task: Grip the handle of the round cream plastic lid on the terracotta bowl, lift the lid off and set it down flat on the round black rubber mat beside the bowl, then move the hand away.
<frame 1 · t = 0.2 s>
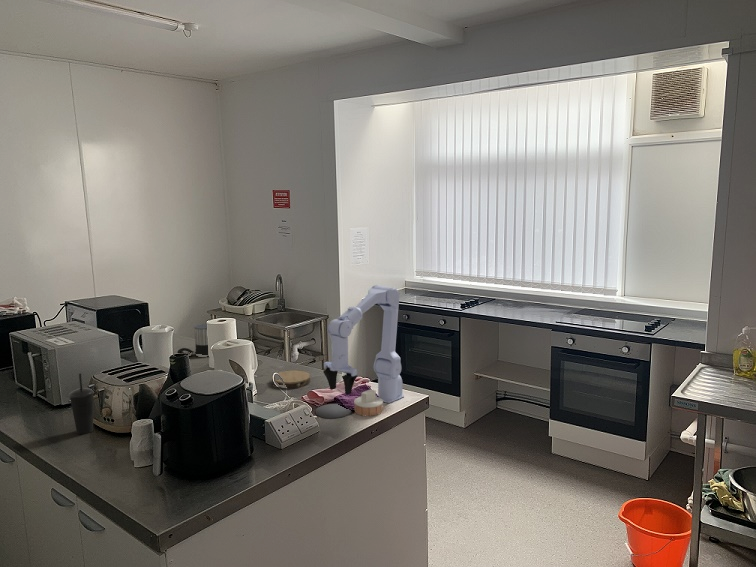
hand: (340, 391, 202), 10 cm above the worktop, tool pointing down, fingers open, 7 cm apart
milk frother: (196, 356, 282), on the worktop
spray can: (215, 429, 195), on the worktop
drinking cup: (85, 432, 194), on the worktop
mat: (333, 411, 210), on the worktop
mortar and pestle: (239, 402, 220), on the worktop
lid: (368, 402, 210), point 3 cm above the worktop, touching bowl
brown round disc: (291, 383, 243), on the worktop
bowl: (368, 410, 211), on the worktop
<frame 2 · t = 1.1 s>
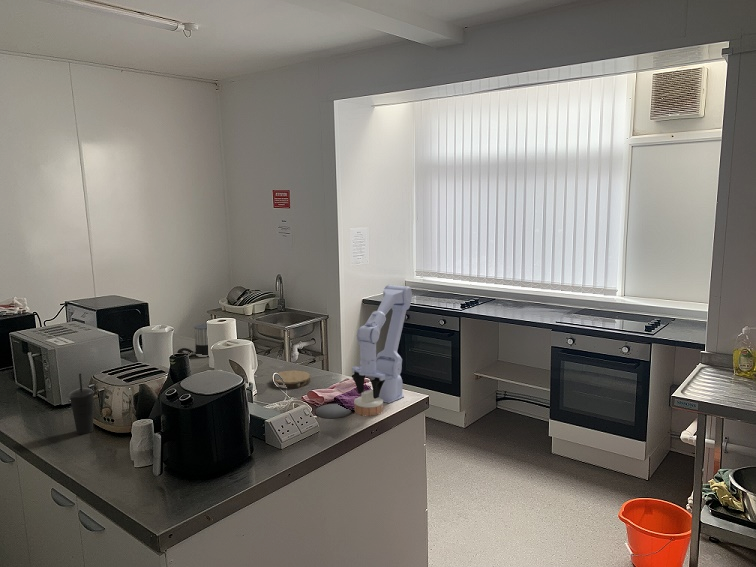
hand: (368, 395, 210), 6 cm above the worktop, tool pointing down, fingers open, 7 cm apart
nothing on the worktop moved.
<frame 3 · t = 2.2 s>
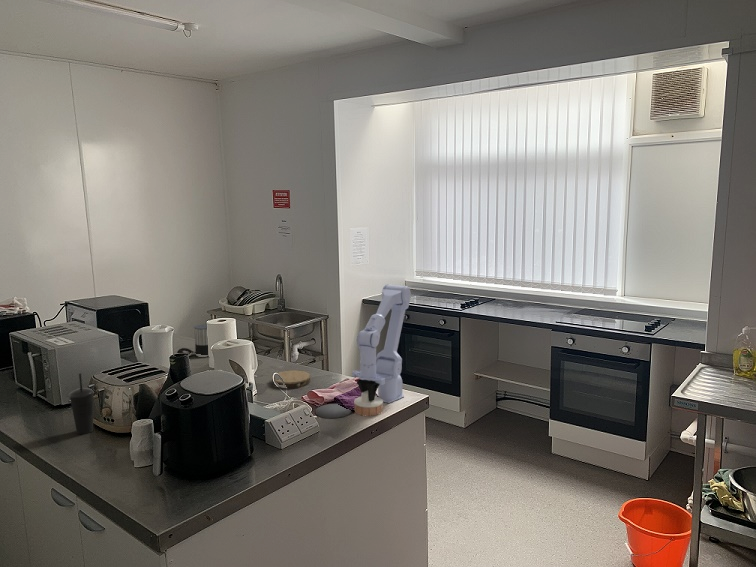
hand: (368, 399, 210), 4 cm above the worktop, tool pointing down, fingers closed on lid, 2 cm apart
lid: (368, 402, 210), point 3 cm above the worktop, touching bowl, gripper
everything else where it was.
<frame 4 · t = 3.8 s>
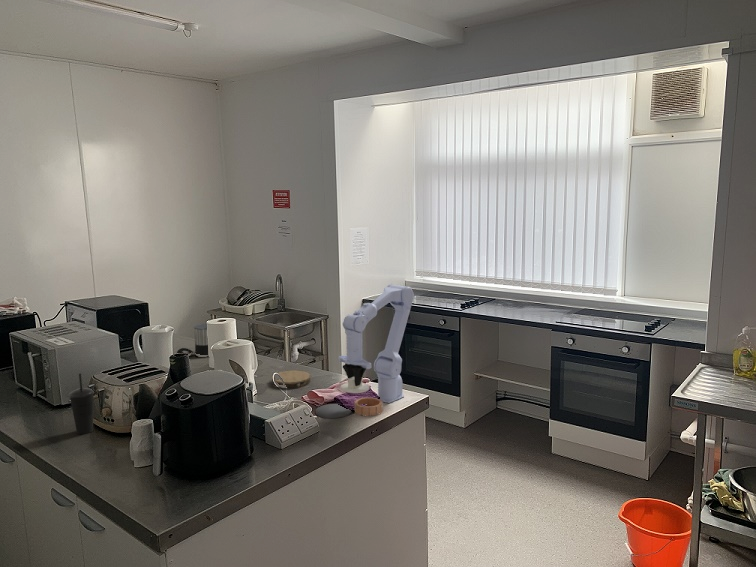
hand: (354, 384, 209), 10 cm above the worktop, tool pointing down, fingers closed on lid, 2 cm apart
lid: (355, 388, 209), point 9 cm above the worktop, touching gripper
everything else where it was.
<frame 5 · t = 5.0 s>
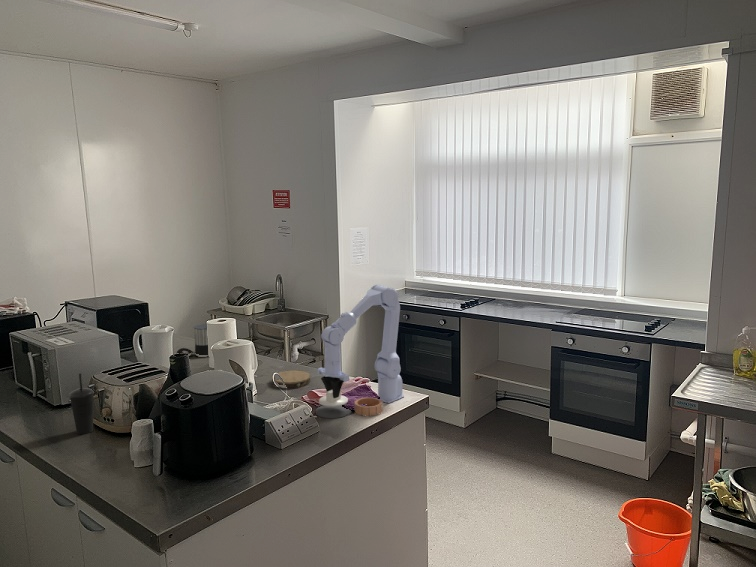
hand: (333, 396, 209), 6 cm above the worktop, tool pointing down, fingers closed on lid, 2 cm apart
lid: (333, 401, 209), point 4 cm above the worktop, touching gripper
everything else where it was.
when the fingers open (3 cm above the worktop, at t = 5.7 s): lid stays where it is, resting on mat.
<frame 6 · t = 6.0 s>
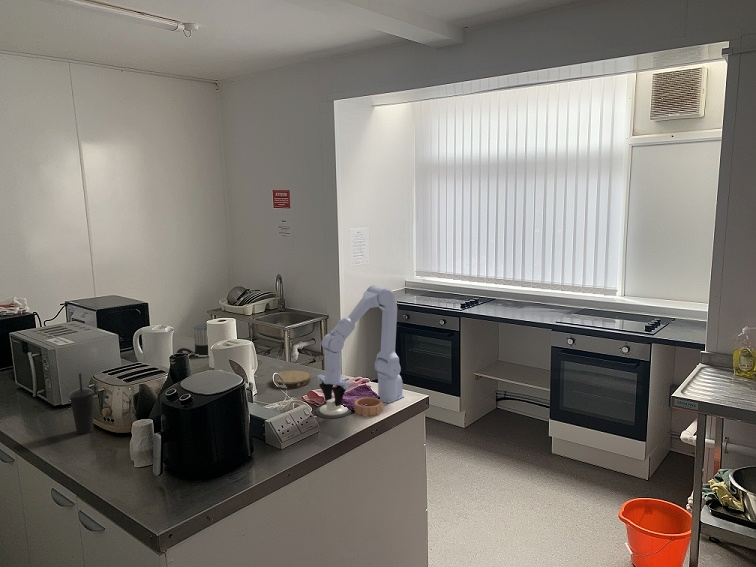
hand: (333, 403, 210), 3 cm above the worktop, tool pointing down, fingers open, 4 cm apart
lid: (333, 410, 210), resting on mat
everything else where it was.
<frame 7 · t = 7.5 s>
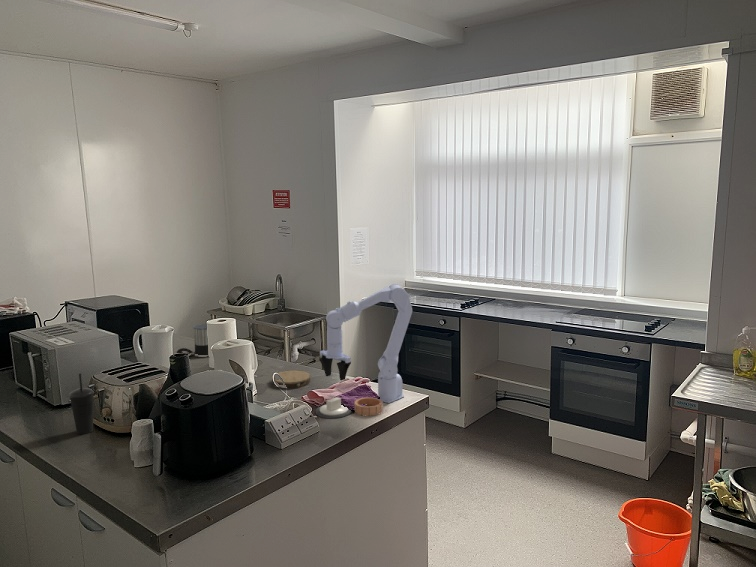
hand: (335, 377, 219), 9 cm above the worktop, tool pointing down, fingers open, 7 cm apart
nothing on the worktop moved.
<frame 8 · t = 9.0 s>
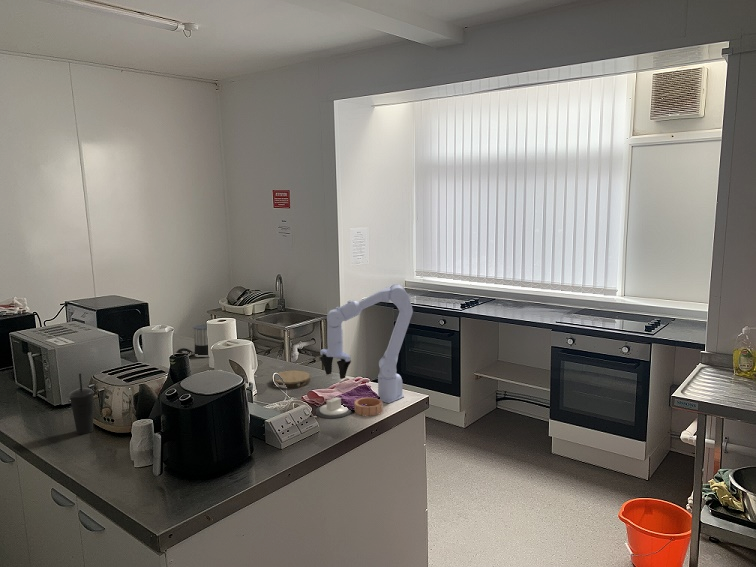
hand: (335, 376, 220), 9 cm above the worktop, tool pointing down, fingers open, 7 cm apart
nothing on the worktop moved.
at the end: lid 0.2 cm off-centre on the mat, point 0.5 cm above the mat's base; lid tilted 0°; the gripper is holding nothing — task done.
